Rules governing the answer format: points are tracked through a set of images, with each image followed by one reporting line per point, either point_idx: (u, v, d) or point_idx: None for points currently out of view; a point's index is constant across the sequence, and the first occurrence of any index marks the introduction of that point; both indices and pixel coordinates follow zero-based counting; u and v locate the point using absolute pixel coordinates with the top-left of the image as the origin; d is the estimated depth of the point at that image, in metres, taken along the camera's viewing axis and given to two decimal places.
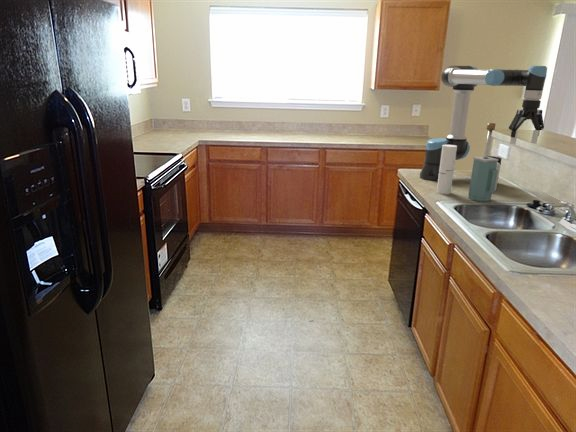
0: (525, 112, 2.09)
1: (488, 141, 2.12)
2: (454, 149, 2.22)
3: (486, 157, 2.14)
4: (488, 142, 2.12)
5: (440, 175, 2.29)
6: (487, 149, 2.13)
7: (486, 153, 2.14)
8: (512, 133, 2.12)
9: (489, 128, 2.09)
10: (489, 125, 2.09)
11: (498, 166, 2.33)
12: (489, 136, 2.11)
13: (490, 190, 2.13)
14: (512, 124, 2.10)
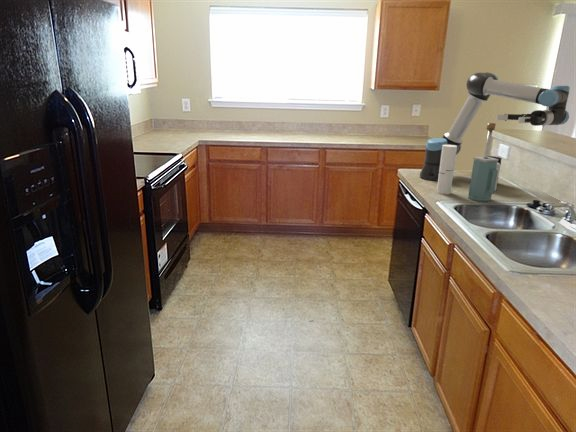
0: None
1: (488, 141, 2.12)
2: (454, 149, 2.22)
3: (486, 157, 2.14)
4: (488, 142, 2.12)
5: (440, 175, 2.29)
6: (487, 149, 2.13)
7: (486, 153, 2.14)
8: (529, 120, 2.06)
9: (489, 128, 2.09)
10: (489, 125, 2.09)
11: (498, 166, 2.33)
12: (489, 136, 2.11)
13: (490, 190, 2.13)
14: (538, 120, 2.07)
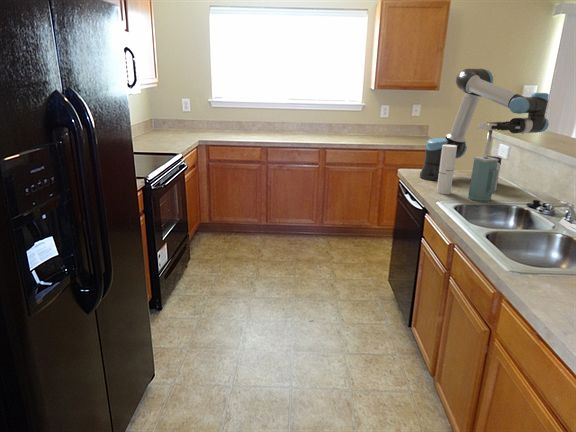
0: None
1: (488, 141, 2.12)
2: (454, 149, 2.22)
3: (486, 157, 2.14)
4: (488, 142, 2.12)
5: (440, 175, 2.29)
6: (487, 149, 2.13)
7: (486, 153, 2.14)
8: (496, 127, 2.07)
9: None
10: None
11: (498, 166, 2.33)
12: (489, 136, 2.11)
13: (490, 190, 2.13)
14: (506, 127, 2.06)
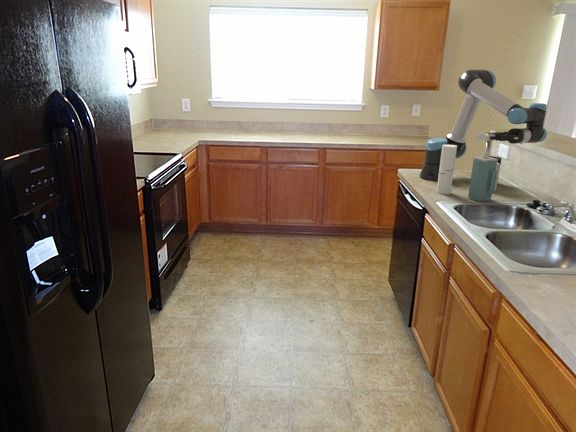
0: None
1: (486, 151, 2.13)
2: (454, 149, 2.22)
3: None
4: (486, 152, 2.13)
5: (440, 175, 2.29)
6: None
7: None
8: (494, 138, 2.09)
9: None
10: None
11: (498, 166, 2.33)
12: (487, 146, 2.13)
13: (490, 190, 2.13)
14: (504, 138, 2.08)
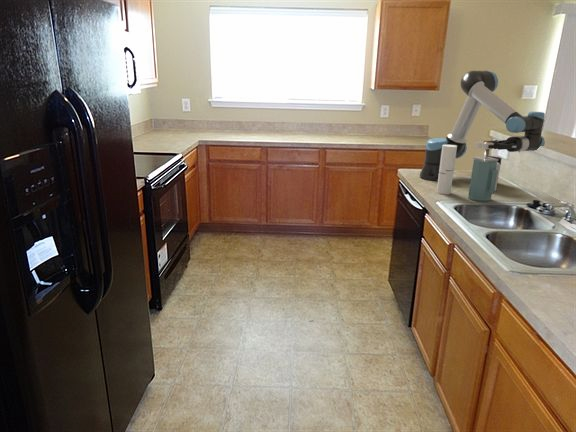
0: None
1: None
2: (454, 149, 2.22)
3: None
4: None
5: (440, 175, 2.29)
6: None
7: None
8: (492, 146, 2.10)
9: None
10: None
11: (498, 166, 2.33)
12: (486, 155, 2.14)
13: (490, 190, 2.13)
14: (503, 147, 2.09)
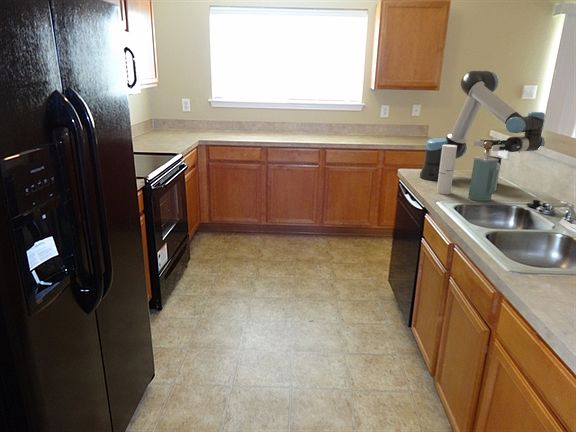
0: None
1: None
2: (454, 149, 2.22)
3: None
4: None
5: (440, 175, 2.29)
6: None
7: None
8: (504, 148, 2.06)
9: (486, 147, 2.12)
10: (486, 144, 2.12)
11: (498, 166, 2.33)
12: (486, 155, 2.14)
13: (490, 190, 2.13)
14: (513, 148, 2.07)
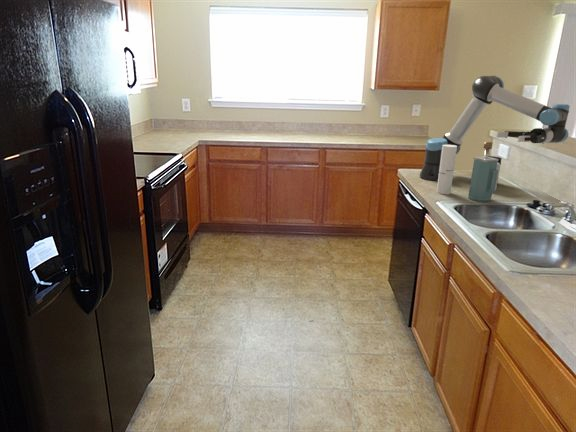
0: None
1: None
2: (454, 149, 2.22)
3: None
4: None
5: (440, 175, 2.29)
6: None
7: None
8: (529, 139, 2.09)
9: (486, 147, 2.12)
10: (486, 144, 2.12)
11: (498, 166, 2.33)
12: (486, 155, 2.14)
13: (490, 190, 2.13)
14: (538, 139, 2.10)
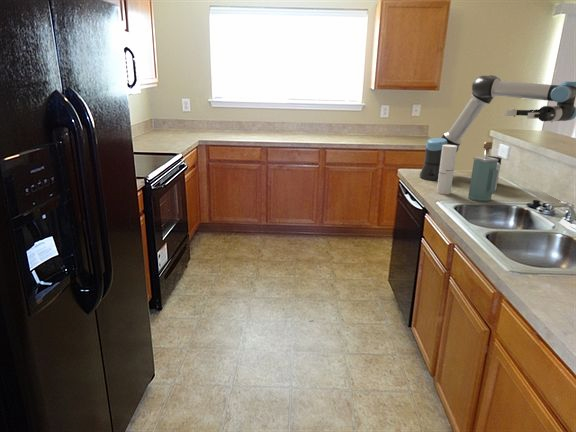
0: None
1: None
2: (454, 149, 2.22)
3: None
4: None
5: (440, 175, 2.29)
6: None
7: None
8: (538, 116, 2.07)
9: (486, 147, 2.12)
10: (486, 144, 2.12)
11: (498, 166, 2.33)
12: (486, 155, 2.14)
13: (490, 190, 2.13)
14: (547, 116, 2.08)
